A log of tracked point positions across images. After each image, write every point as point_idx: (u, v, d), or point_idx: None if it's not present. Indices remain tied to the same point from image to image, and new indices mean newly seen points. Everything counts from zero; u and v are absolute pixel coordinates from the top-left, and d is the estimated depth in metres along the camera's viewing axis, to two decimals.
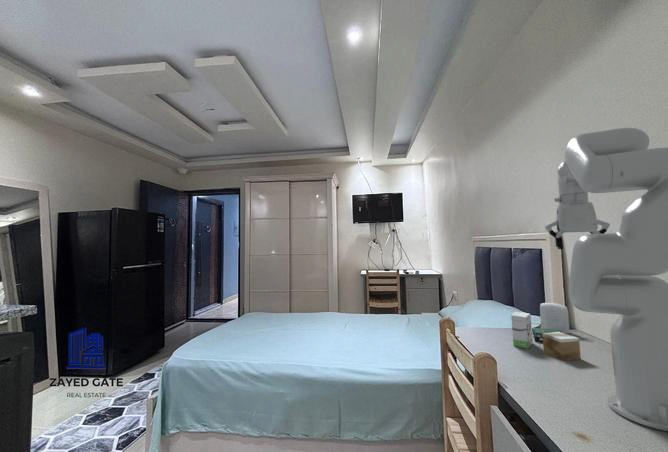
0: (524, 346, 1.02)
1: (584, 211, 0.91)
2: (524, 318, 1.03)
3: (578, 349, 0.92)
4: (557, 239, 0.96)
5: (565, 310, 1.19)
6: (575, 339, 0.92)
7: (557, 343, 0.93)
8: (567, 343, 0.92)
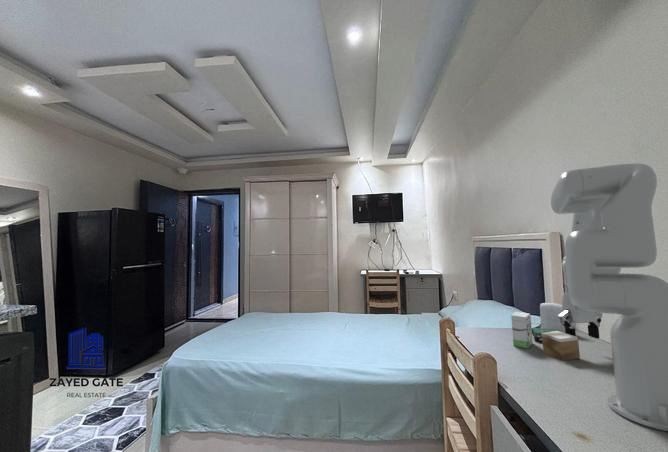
0: (524, 346, 1.02)
1: None
2: (524, 318, 1.03)
3: (577, 348, 0.92)
4: None
5: None
6: (573, 338, 0.92)
7: (556, 343, 0.93)
8: (566, 342, 0.92)
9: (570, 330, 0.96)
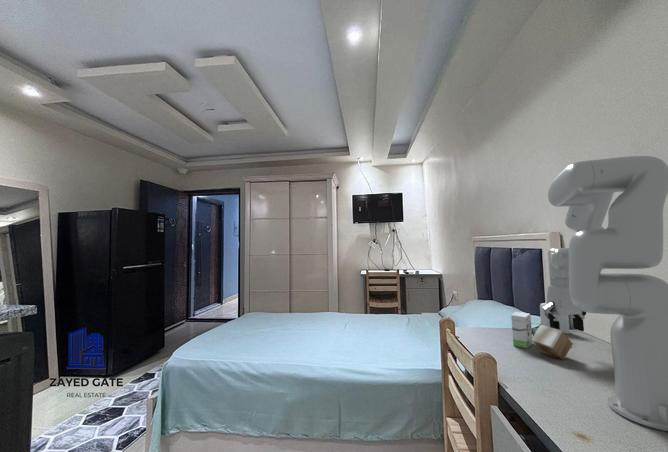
0: (524, 346, 1.02)
1: None
2: (524, 318, 1.03)
3: (566, 338, 0.92)
4: None
5: None
6: (558, 334, 0.92)
7: (549, 348, 0.92)
8: (556, 343, 0.91)
9: (554, 322, 0.95)
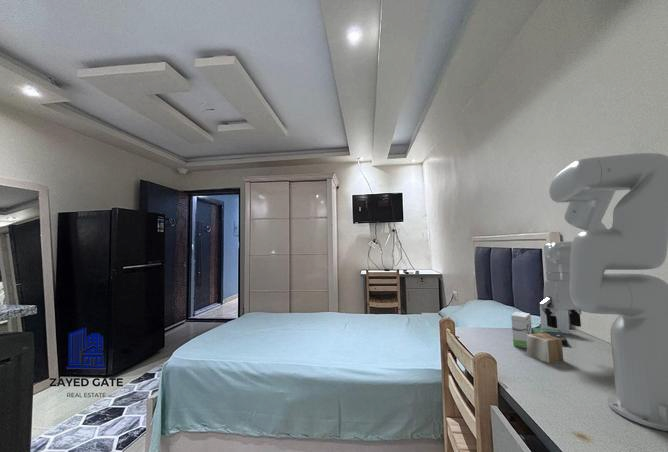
0: (524, 346, 1.02)
1: None
2: (524, 318, 1.03)
3: (554, 341, 0.91)
4: None
5: (565, 310, 1.19)
6: (546, 345, 0.90)
7: None
8: (550, 355, 0.90)
9: (551, 318, 0.94)
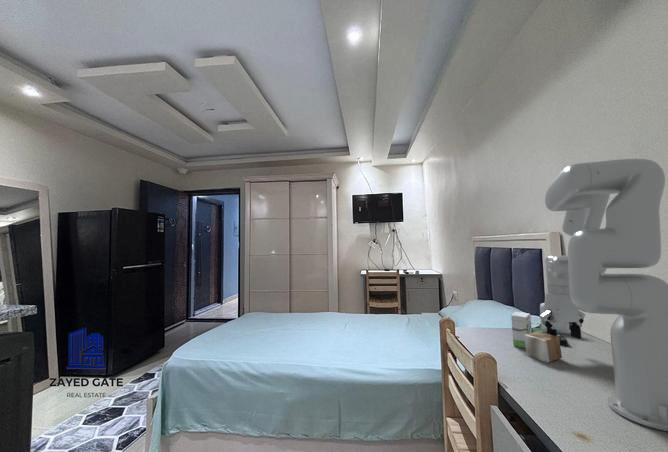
0: (524, 346, 1.02)
1: None
2: (524, 318, 1.03)
3: (552, 340, 0.91)
4: None
5: None
6: (545, 345, 0.90)
7: None
8: (549, 354, 0.90)
9: (551, 330, 0.95)
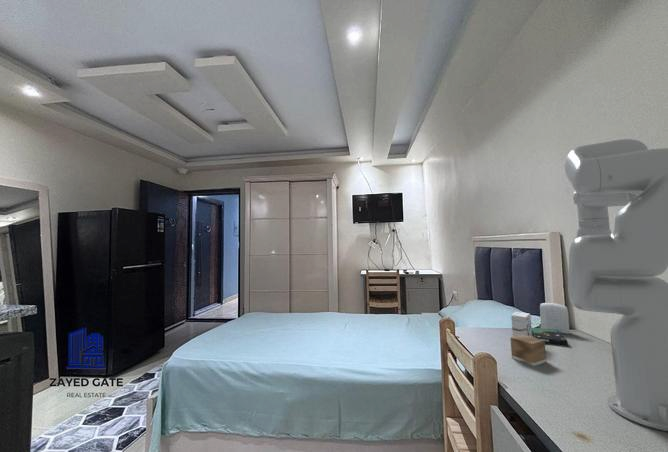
0: None
1: None
2: (524, 318, 1.03)
3: (534, 353, 0.88)
4: None
5: (565, 310, 1.19)
6: (536, 364, 0.88)
7: None
8: (542, 358, 0.89)
9: None
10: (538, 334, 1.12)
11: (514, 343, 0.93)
